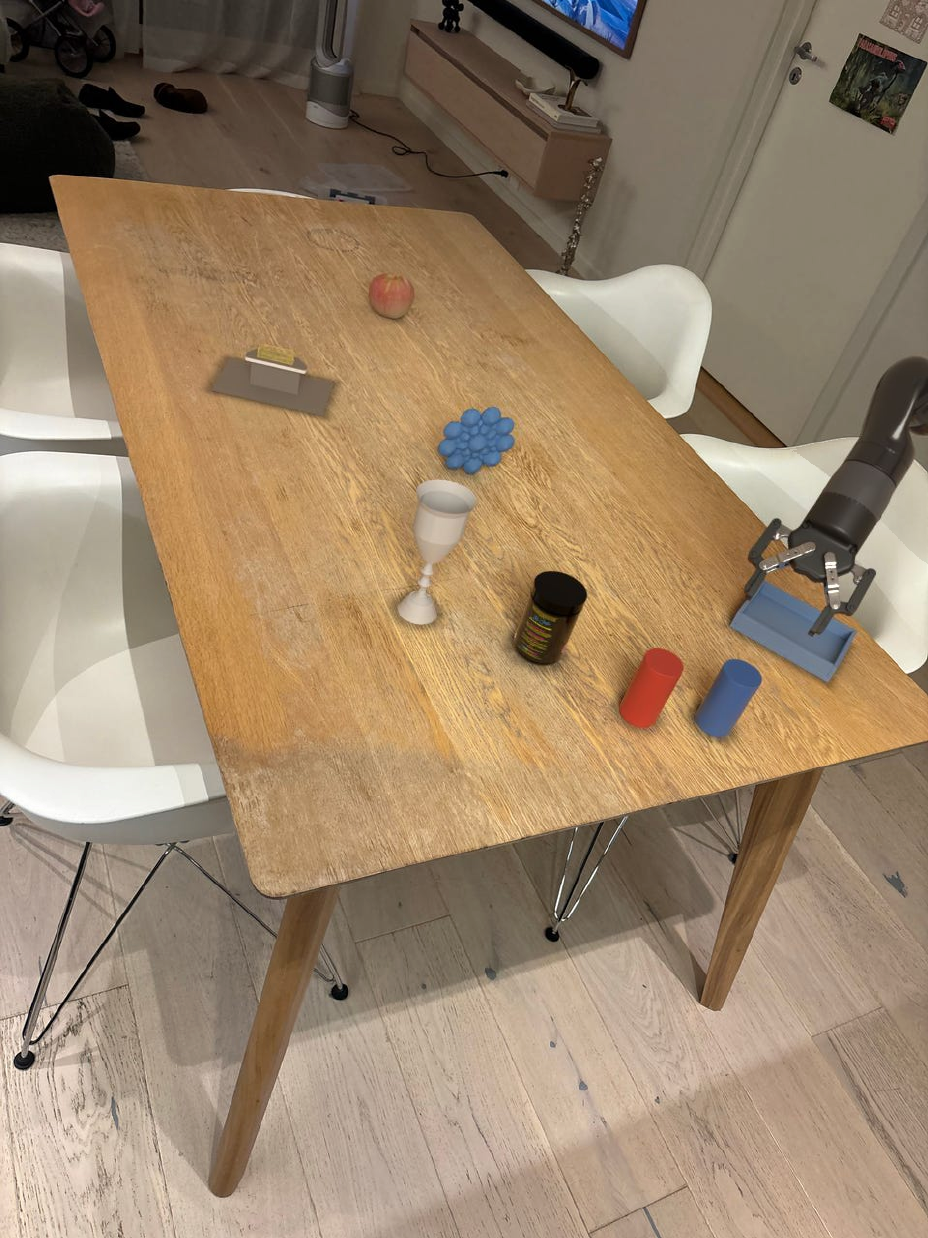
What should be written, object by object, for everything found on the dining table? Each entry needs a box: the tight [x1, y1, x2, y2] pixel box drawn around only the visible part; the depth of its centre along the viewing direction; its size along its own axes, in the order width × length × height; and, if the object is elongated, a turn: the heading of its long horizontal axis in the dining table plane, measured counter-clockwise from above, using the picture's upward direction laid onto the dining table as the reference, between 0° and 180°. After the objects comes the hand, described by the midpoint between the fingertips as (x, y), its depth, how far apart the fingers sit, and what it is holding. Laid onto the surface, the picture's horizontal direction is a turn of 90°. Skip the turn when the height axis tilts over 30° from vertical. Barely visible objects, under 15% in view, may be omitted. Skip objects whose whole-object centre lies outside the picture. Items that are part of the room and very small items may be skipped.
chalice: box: [397, 479, 478, 625], centre depth 112 cm, size 7×7×18 cm
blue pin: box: [694, 658, 763, 738], centre depth 112 cm, size 5×5×9 cm
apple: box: [368, 272, 415, 320], centre depth 181 cm, size 9×9×8 cm
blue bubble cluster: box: [437, 406, 515, 475], centre depth 143 cm, size 12×7×12 cm, turn 95°
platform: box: [210, 343, 335, 417], centre depth 150 cm, size 12×18×7 cm, turn 87°
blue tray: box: [729, 579, 858, 684], centre depth 132 cm, size 15×11×3 cm
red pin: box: [618, 647, 685, 729], centre depth 110 cm, size 5×5×9 cm
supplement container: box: [512, 570, 588, 667], centre depth 114 cm, size 7×7×10 cm
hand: (778, 616), depth 112 cm, fingers open, 8 cm apart
